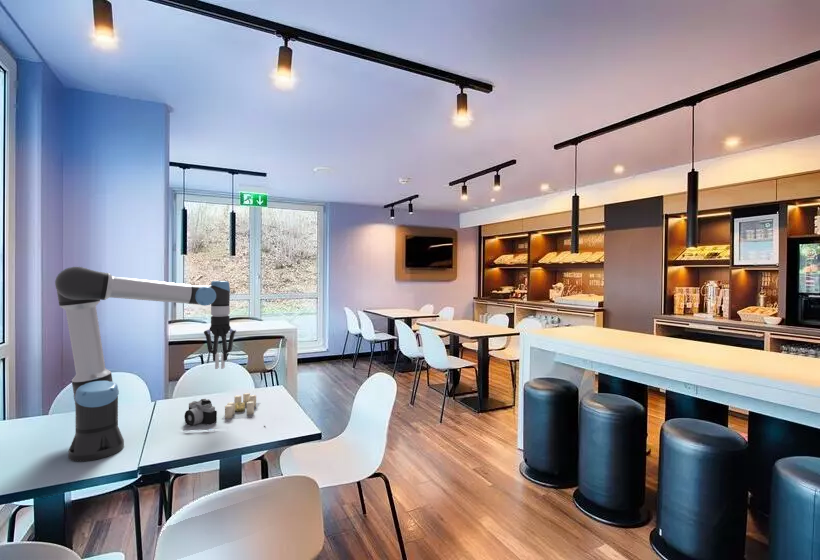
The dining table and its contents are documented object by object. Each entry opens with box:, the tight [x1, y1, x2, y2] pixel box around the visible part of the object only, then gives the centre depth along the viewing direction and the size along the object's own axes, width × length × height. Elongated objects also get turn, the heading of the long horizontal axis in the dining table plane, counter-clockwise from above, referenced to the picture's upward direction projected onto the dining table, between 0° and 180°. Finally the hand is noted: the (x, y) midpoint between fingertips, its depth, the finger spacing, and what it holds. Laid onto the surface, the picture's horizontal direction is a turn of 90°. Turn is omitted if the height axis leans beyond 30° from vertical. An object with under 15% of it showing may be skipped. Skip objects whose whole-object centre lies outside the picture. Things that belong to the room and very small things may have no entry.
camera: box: [184, 398, 218, 427], centre depth 165 cm, size 16×9×10 cm, turn 61°
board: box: [221, 392, 261, 420], centre depth 179 cm, size 20×12×6 cm, turn 10°
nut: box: [235, 401, 245, 412], centre depth 178 cm, size 4×4×3 cm
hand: (219, 368), depth 177 cm, fingers open, 2 cm apart
